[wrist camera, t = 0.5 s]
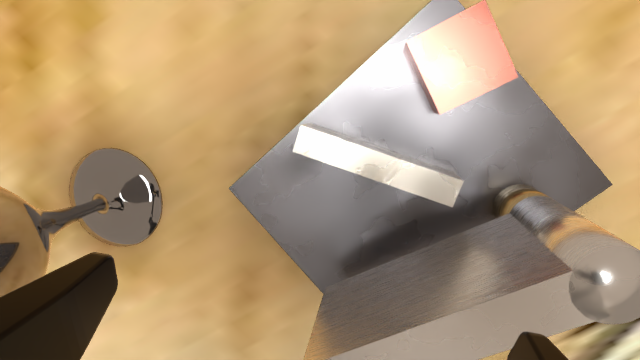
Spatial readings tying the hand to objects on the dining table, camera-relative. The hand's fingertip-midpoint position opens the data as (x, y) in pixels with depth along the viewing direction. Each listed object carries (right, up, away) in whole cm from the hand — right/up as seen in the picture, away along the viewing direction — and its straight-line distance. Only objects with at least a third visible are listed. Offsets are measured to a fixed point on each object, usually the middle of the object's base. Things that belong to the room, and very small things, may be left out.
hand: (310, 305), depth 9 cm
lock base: (+6, +3, +16) cm, 17 cm away
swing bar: (+7, -1, +12) cm, 14 cm away
